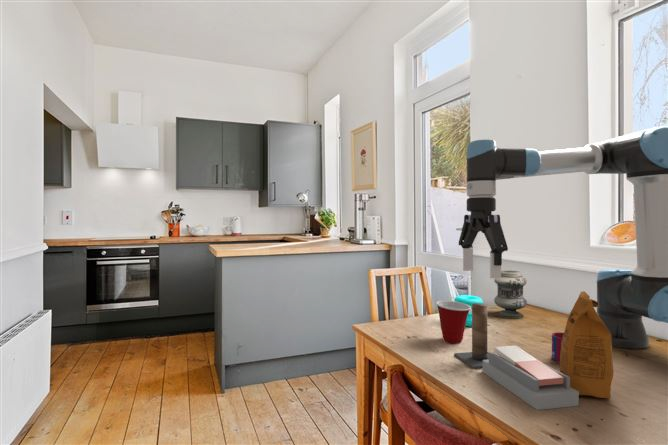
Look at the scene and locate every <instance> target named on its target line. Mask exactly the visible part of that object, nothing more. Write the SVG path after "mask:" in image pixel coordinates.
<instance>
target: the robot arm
mask: <svg viewBox="0 0 668 445" xmlns="http://www.w3.org/2000/svg"><path fill="white" fill-rule="evenodd" d="M465 156H466V157H465V160H466V186H465V187H466V196H467V197H468V198H467V199H466V211H467V212H470V214H465V215H463V216H464V217H463V225H462V228H461V232H460V235H459V240H458V246H461V248H462V252H463V253H462V271H464V272H466V271H467V272H468V271H469V272H470V271H472V272H473V270H474V245H473V244H474V242H475V239H476V238H477V235H478V234H479V232H481V234H482V233H483V235H484V236H485V239H486V241H487V243H488V245H489V248H490V251H489V278H490V279H495V278H501V270H502V265H503V264H502V263H503V261H502V258H503V253H504V252H507V251H508V250H509V247H508V243H507V240H506V237H505V234H504V231H503V227H502V224H501V215H500V214H492V212H495V211H496V210H497V208H496V207H497V200H496V198H495V197H496V195H497V185H496V184H497V181H498V180H506V179H507V180H511V179H518V178H527V177H540V176H550V175H551V176H552V175H561V174H562V175H563V174H572V173H573V174H575V173H584V174H587V175H597V174H599V175H601V174H606V175H607V174H612V175H615V174H616V175H622V174H624V175H625V176H626V180H627V181H628V182H630V183H631V184H632V185H633V201H634V202H633V204H634V223H635V224H634V225H635V244H636V247H635V248H636V263H637V264H636V267H635V268H634V269H601V270H600V271H598V272H597V278H596V301H597V302H598V304H599V306H598V307H596V313H597V314H598V316H599V317H600V319H601V320H602V321H603V323H604V324H605V325H606V327H607V329H608V330H609V332H610V334H611V340H612V347H617V348H625V349H633V350H634V349H637V350H638V349H646V348H649V346H650V338H649V336H648V335H647V332H646V327H645V325H644V323H643V318H648V319H651V320H653V321H655V322H657V323H661V322H662V323H666V324H668V126H667V125H665V126H658V127H651V128H647V129H643V130H640V131H636V132H632V133H629V134H625V135H620V136H618V137H615V138H610V139H607V140H605V141H601V142H600V141H599V142H593V143H588V144H585V146H584V147H576V148H575V147H574V148H565V149H553V150H543V151H538V149H536V148H527V147H524V148H522V147H521V148H517V147H516V148H515V147H514V148H501V147H498V146H497V143H496V141H495V140H494V139H478V140H477V139H476V140H472V141H470V142H469V143H468V144H467V147H466V155H465Z"/></svg>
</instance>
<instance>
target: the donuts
mask: <svg viewBox="0 0 668 445" xmlns="http://www.w3.org/2000/svg"><path fill="white" fill-rule="evenodd" d="M453 301H454V302H460V303H463V304H467V305H469V306H470V307H471V309H472V304H473V303H483V304H484V301H483V299H482V298H481V297H479V296H477V295H472V294H471V295H470V294H461V295H457V296H455V297H454V300H453ZM465 327H470V328H472V312H469V313H468V316H467V320H466V325H465Z"/></svg>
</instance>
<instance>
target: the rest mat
mask: <svg viewBox="0 0 668 445" xmlns="http://www.w3.org/2000/svg"><path fill="white" fill-rule="evenodd" d="M453 356H454V357H456V358H458V360H460V361H461V362H463V363H464V364H465V365H467V366H469V367H470V368H471V369H473V370H474V369H475V370H476V369H477V370H478V369H483V361H477V360H474V359H473V358H472V351H470V352H469V351H468V352H455V353H454V354H453ZM487 360H489V351H487Z"/></svg>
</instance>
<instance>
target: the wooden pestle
mask: <svg viewBox="0 0 668 445" xmlns="http://www.w3.org/2000/svg"><path fill="white" fill-rule="evenodd" d="M471 313H472V327H471V352H472V358H473V359H474V360H477V361H483V360H487V352H488V304H486V303H484V302H483V303H473V304H472V308H471Z"/></svg>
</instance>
